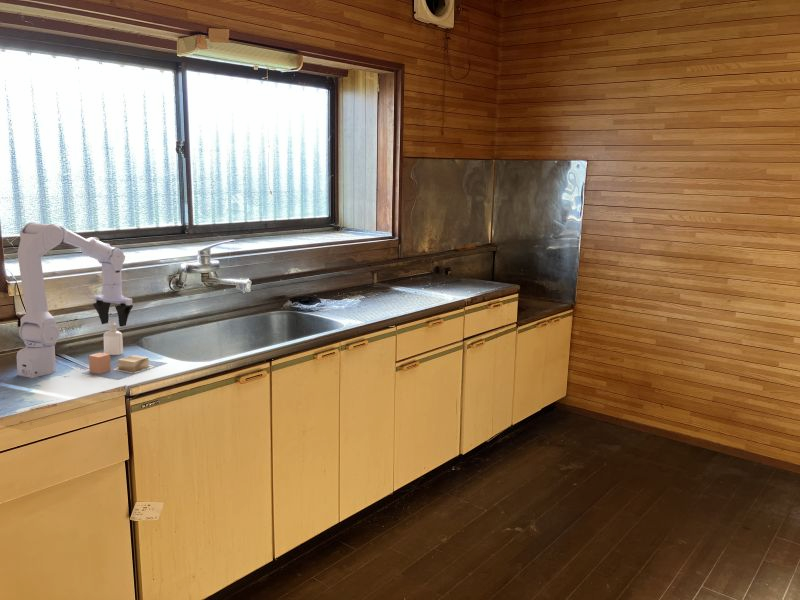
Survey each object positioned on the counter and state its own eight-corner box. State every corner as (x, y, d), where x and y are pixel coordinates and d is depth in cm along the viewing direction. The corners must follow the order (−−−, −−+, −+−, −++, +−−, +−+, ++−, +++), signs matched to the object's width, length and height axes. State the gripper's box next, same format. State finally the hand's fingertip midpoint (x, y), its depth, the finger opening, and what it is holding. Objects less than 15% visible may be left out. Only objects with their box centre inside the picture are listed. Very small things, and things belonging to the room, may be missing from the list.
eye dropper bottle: (112, 358, 205) (111, 322, 203) (102, 355, 208) (100, 319, 206) (125, 355, 209) (123, 320, 207) (114, 353, 212) (113, 317, 210)
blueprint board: (118, 382, 181) (118, 379, 181) (81, 375, 186) (81, 372, 186) (167, 365, 200) (167, 362, 200) (132, 359, 205) (132, 357, 204)
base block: (134, 371, 189) (133, 362, 189) (118, 369, 191) (118, 359, 191) (148, 366, 195) (148, 357, 194) (133, 364, 197) (133, 355, 196)
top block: (100, 373, 186) (99, 357, 185) (89, 371, 188) (88, 355, 187) (110, 370, 190) (109, 354, 189) (100, 368, 191) (99, 352, 190)
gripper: (138, 284, 208) (140, 324, 210) (104, 280, 213) (106, 320, 215) (122, 286, 201) (123, 328, 204) (87, 283, 206) (89, 324, 209)
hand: (113, 324), depth 209 cm, fingers open, 7 cm apart
